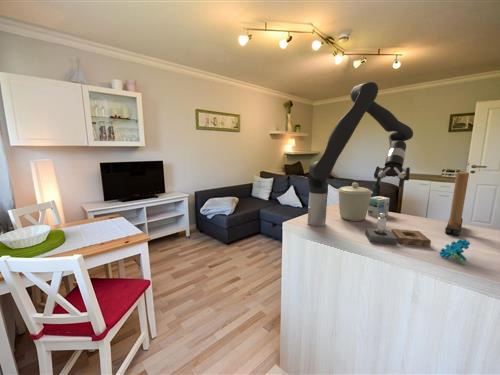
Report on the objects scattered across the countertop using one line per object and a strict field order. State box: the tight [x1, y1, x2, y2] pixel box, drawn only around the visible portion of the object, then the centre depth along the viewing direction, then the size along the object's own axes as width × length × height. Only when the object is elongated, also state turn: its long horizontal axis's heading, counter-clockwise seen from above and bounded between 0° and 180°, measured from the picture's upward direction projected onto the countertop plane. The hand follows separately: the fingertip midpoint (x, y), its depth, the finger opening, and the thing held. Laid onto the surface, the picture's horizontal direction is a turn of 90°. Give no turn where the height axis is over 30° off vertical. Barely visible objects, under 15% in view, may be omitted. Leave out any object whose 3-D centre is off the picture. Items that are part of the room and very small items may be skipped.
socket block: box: [364, 227, 398, 246], centre depth 99 cm, size 10×10×3 cm
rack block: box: [390, 228, 432, 248], centre depth 97 cm, size 11×11×3 cm
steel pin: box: [376, 213, 387, 235], centre depth 98 cm, size 3×3×12 cm
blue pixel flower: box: [438, 239, 471, 266], centre depth 81 cm, size 11×6×10 cm
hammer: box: [444, 171, 470, 236], centre depth 105 cm, size 20×5×30 cm, turn 134°
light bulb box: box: [367, 195, 390, 218], centre depth 134 cm, size 11×7×11 cm, turn 117°
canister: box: [337, 182, 374, 222], centre depth 126 cm, size 18×18×21 cm
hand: (388, 185), depth 104 cm, fingers open, 8 cm apart
